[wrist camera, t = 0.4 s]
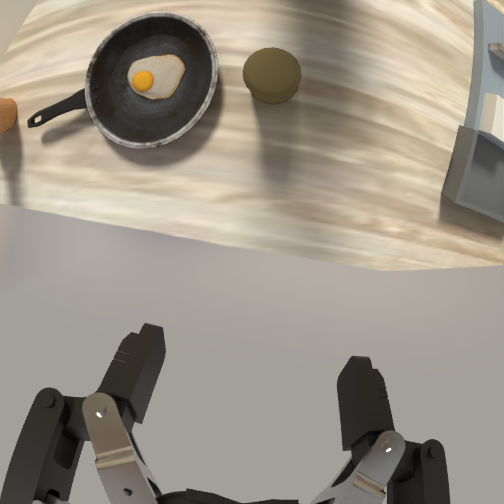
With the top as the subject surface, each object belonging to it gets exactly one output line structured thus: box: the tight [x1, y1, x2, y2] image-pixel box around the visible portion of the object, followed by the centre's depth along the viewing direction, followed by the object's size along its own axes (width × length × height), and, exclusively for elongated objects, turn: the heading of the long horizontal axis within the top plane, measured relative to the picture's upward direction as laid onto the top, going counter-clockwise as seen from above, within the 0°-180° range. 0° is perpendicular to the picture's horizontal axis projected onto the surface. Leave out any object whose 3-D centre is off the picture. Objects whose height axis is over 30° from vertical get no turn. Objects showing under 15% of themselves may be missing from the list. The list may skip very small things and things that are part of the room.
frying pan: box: [27, 11, 218, 149], centre depth 29 cm, size 19×32×4 cm, turn 95°
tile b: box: [479, 93, 504, 145], centre depth 23 cm, size 6×6×3 cm
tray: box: [441, 125, 504, 223], centre depth 29 cm, size 11×18×4 cm, turn 82°
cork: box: [243, 48, 301, 104], centre depth 24 cm, size 6×6×11 cm
